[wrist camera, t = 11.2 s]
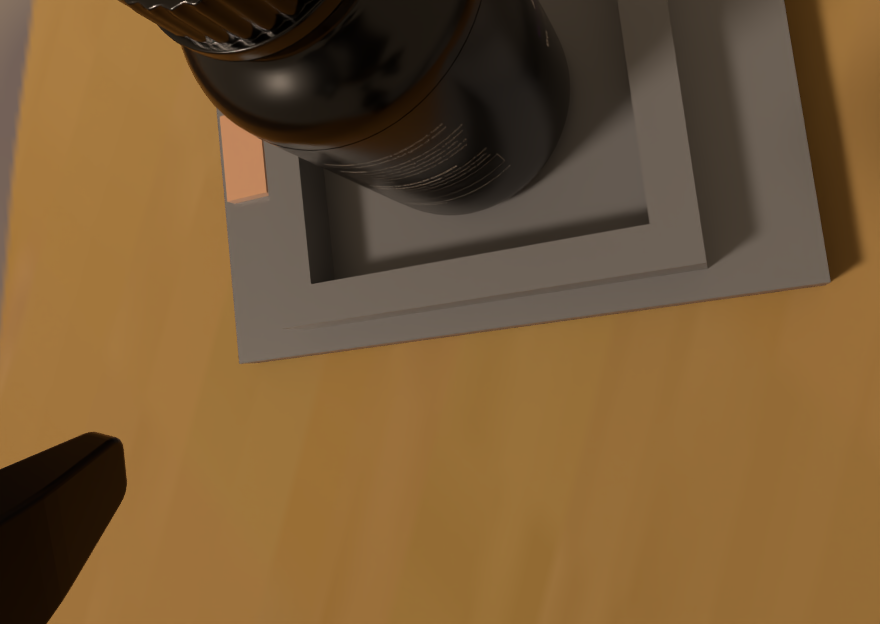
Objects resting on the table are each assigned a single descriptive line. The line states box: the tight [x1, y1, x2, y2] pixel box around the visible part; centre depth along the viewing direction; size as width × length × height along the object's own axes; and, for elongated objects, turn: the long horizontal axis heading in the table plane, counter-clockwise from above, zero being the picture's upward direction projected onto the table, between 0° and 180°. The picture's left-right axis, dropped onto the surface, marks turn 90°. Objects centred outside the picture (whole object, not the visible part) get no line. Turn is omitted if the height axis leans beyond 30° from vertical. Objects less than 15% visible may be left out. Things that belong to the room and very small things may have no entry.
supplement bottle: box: [118, 0, 570, 215], centre depth 16 cm, size 7×7×12 cm
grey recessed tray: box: [217, 0, 831, 364], centre depth 22 cm, size 14×18×2 cm
